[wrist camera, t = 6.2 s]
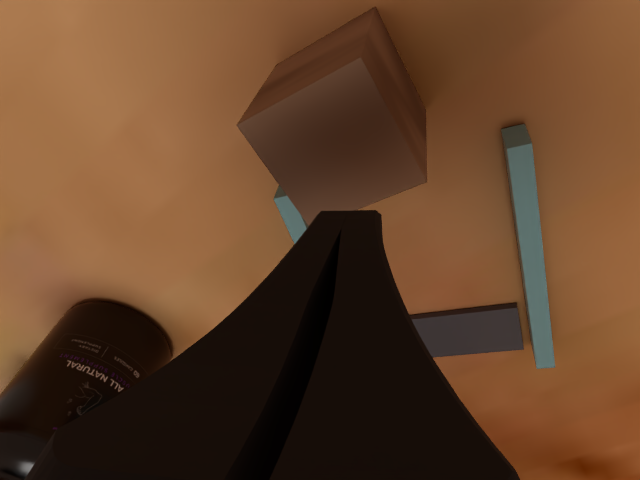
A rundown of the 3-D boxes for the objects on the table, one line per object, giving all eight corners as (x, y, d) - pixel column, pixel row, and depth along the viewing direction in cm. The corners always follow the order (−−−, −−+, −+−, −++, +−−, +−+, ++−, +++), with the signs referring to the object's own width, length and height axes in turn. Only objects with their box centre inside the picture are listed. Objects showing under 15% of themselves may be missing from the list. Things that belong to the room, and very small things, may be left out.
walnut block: (425, 109, 18) (426, 182, 14) (332, 153, 20) (310, 228, 16) (375, 6, 16) (360, 57, 12) (276, 64, 18) (236, 125, 14)
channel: (548, 342, 24) (555, 367, 23) (361, 358, 27) (359, 381, 26) (524, 123, 17) (531, 143, 16) (281, 179, 21) (273, 198, 19)
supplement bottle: (159, 302, 27) (23, 538, 18) (184, 377, 31) (85, 599, 22) (46, 291, 28) (-138, 509, 19) (86, 365, 32) (-48, 573, 23)
